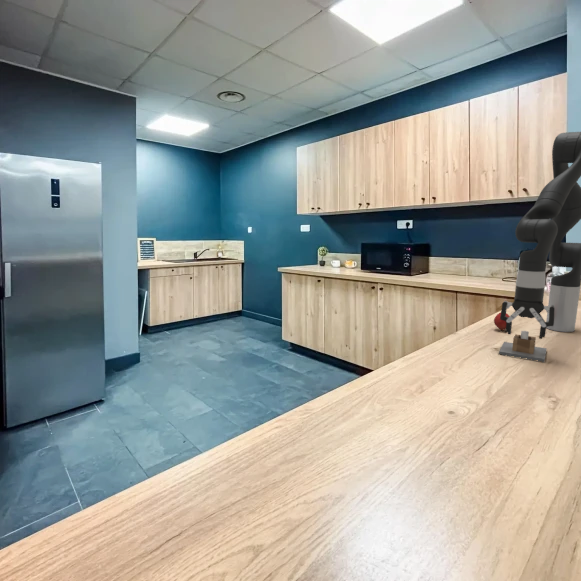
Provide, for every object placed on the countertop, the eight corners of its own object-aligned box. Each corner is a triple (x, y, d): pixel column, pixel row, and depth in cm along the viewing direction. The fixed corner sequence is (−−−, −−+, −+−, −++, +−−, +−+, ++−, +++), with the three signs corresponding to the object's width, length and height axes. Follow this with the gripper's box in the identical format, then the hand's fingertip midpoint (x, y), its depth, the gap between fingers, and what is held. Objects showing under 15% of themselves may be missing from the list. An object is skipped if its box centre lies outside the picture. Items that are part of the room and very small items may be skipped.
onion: (489, 329, 147) (491, 309, 146) (500, 327, 149) (501, 307, 148) (503, 333, 142) (505, 312, 140) (513, 331, 144) (516, 310, 143)
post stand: (503, 344, 129) (505, 324, 127) (546, 351, 122) (548, 330, 121) (498, 354, 119) (500, 332, 118) (544, 362, 112) (547, 339, 111)
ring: (514, 345, 124) (515, 334, 123) (534, 349, 121) (535, 337, 120) (512, 350, 120) (513, 338, 119) (533, 354, 116) (534, 341, 116)
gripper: (558, 285, 115) (552, 337, 118) (505, 281, 124) (500, 329, 127) (558, 289, 110) (551, 343, 112) (502, 284, 118) (497, 335, 121)
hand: (524, 335), depth 119 cm, fingers open, 8 cm apart
